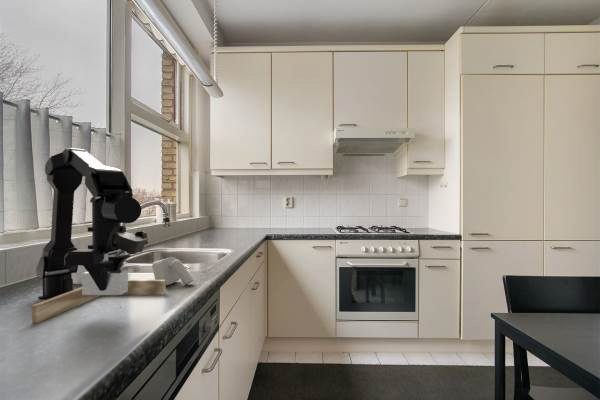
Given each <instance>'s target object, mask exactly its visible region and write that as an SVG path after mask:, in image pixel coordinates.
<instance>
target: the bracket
mask: <svg viewBox="0 0 600 400" xmlns="http://www.w3.org/2000/svg"><path fill="white" fill-rule="evenodd" d="M128 277H129V270H128V269H125V270H124V269H123V270H122V269H120V270H107V282H106V289H105V290H104V291H100V290H99V288H98V287H97V285H96V283H95V282H94V280H93V279H92V277H91V276H90V274H89V273H88V272H85V273H82V284H81V287H82V295H101V296H121V294H123V293H125V292H127V291H128V280H129V278H128Z"/></svg>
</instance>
